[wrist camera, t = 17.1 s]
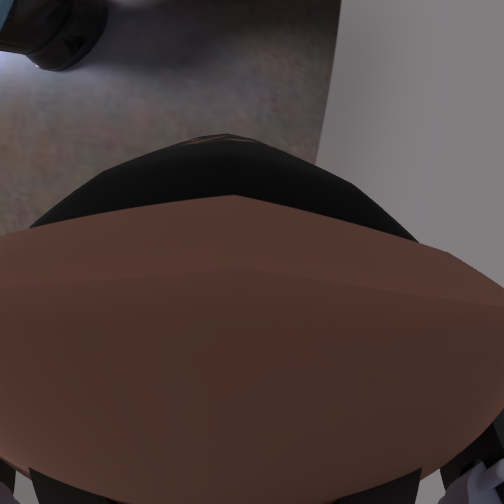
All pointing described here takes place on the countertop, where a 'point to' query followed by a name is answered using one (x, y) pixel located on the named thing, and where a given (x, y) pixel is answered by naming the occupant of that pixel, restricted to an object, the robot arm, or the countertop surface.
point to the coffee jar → (238, 335)
